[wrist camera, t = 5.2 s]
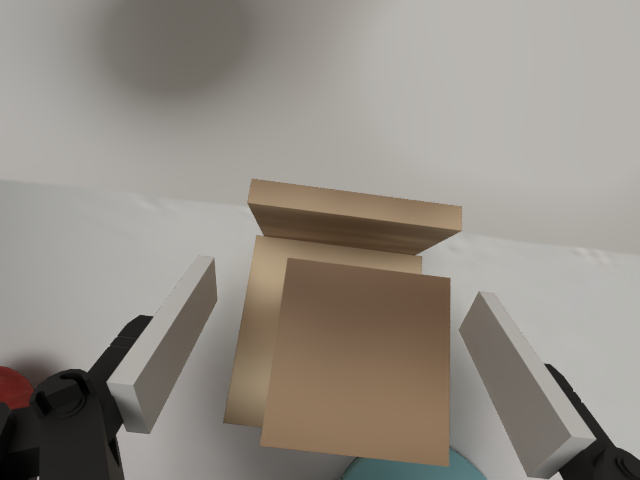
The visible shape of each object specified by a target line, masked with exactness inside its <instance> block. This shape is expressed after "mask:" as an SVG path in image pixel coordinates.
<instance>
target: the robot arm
mask: <svg viewBox="0 0 640 480" xmlns="http://www.w3.org/2000/svg"><path fill="white" fill-rule="evenodd" d="M216 302H217V289H216V275H215V262H214V257H207V256H199V255H198V257H197V258H196V259H195V261H194V262H193V264H192V265H191V266H190V268H189V269H188V270H187V272H186V273H185V275H184V276H183V277H182V279H181V280H180V281H179V283H178V284H177V286H176V287H175V288H174V290H173V291H172V292H171V294H170V295H169V297H168V298H167V299H166V301H165V302H164V304H163V305H162V306H161V308H160V309H159V310H158V312H157V313H156V315H155V316H154V317H153V316H145V315H139V316H138V317H136V318H135V319H133V320H132V321H131V322H129V323H128V324H127V325H126V326H125V327H124V328H123V329H122V331H121V332H120V333H119V334H118V337H117V338H115V339H114V341H113V342H112V343H111V344H110V347H108V348H107V349H106V350H105V352H104V353H103V354H102V355H101V357H100V358H99V359H98V360H97V362H96V363H95V364H94V365H93V367H92V368H91V369H90V370H89V371H88V373H87V372H85V371H83V370H81V369H69V370H65V371H61V372H59V373H57V374H55V375H53V376H51V377H48V378H47V379H46V380H45V381H43V382H42V383H41V384H39V385H38V386H37V388H36V389H35V390H34V391H33V393H32V394H31V397H30V400H29V404H30V406H29V407H23V408H18V409H12V410H11V409H10V408H9V406H8V405H7V404H6V403H4V402H0V480H37V477H38V476H39V480H124V474H123V469H122V463H121V457H120V452H119V446H118V441H117V437H116V434H117V432H118V430H119V429H120V427H121V425H122V424H124V426H125V429H126V431H127V432H135V433H144V434H150V432H151V430H152V428H153V426H154V424H155V422H156V420H157V418H158V416H159V414H160V412H161V410H162V408H163V406H164V404H165V402H166V400H167V398H168V396H169V394H170V392H171V391H172V389H173V387H174V385H175V383H176V381H177V379H178V377H179V375H180V373H181V371H182V369H183V367H184V365H185V363H186V361H187V359H188V357H189V355H190V353H191V351H192V349H193V347H194V345H195V343H196V341H197V339H198V337H199V335H200V333H201V331H202V329H203V327H204V325H205V323H206V321H207V319H208V317H209V315H210V314H211V312H212V310H213V308H214V306H215V304H216ZM459 331H460V333H461V336H462V338H463V340H464V342H465V344H466V346H467V348H468V351H469V353H470V355H471V357H472V359H473V361H474V363H475V365H476V368H477V370H478V372H479V374H480V376H481V378H482V380H483V383H484V385H485V387H486V389H487V391H488V393H489V395H490V398H491V400H492V402H493V404H494V406H495V408H496V410H497V412H498V415H499V417H500V419H501V421H502V423H503V425H504V427H505V430H506V432H507V434H508V436H509V438H510V440H511V442H512V445H513V447H514V449H515V451H516V453H517V455H518V457H519V460H520V462H521V464H522V466H523V468H524V470H525V472H526V474H527V477H534V478H543V479H550V478H551V477H552V476H553V475H554V474H556V473H557V472H558V471H559V473H560V474H561V476H562V478H563V480H640V460H639V459H637V458H636V457H635V456H633V455H632V454H631V453H629V452H627V451H625V450H623V449H621V448H617V447H616V446H615V445H614V444H613V443H612V441H611V440H610V439H609V437H608V436H607V435H606V433H605V432H604V431H603V429H602V428H601V427H600V425H599V424H598V422H597V421H596V420H595V418H594V417H593V416H592V414H591V413H590V412H589V410H588V409H587V408H586V406H585V405H584V403H581V399H580V398H579V397H578V395H577V394H576V393H575V392H573V388H572V387H571V386H570V384H569V383H568V382H567V380H566V379H565V378H564V376H563V375H562V374H560V373H559V372H558V371H557V370H556V369H555V368H554V367H553V366H552V365H550V364H543V362H542V361H541V359H540V358H539V356H538V355H537V354H536V352H535V351H534V349H533V348H532V346H531V345H530V344H529V342H528V341H527V339H526V338H525V336H524V335H523V334H522V332H521V331H520V329H519V328H518V326H517V325H516V324H515V322H514V321H513V319H512V318H511V316H510V315H509V314H508V312H507V311H506V309H505V308H504V306H503V305H502V304H501V302H500V301H499V299H498V298H497V296H496V295H495V294H494V293H489V292H481V291H479V292H478V294H477V296H476V298H475V300H474V302H473V304H472V306H471V308H470V310H469V312H468V313H467V315H466V317H465V319H464V321H463V323H462V325H461V327H460V329H459Z"/></svg>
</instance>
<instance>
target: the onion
mask: <svg viewBox="0 0 640 480" xmlns="http://www.w3.org/2000/svg"><path fill="white" fill-rule="evenodd" d="M33 391H34V390H33V388H32V386H31V384H30V382H29V380H28V379H27V378H25V377H24V376H22V375H21V374H19V373H18V372H17V371H14V370H12V369H10V368H8V367H2V366H0V402H4V403H6V404H7V405H8V406H9V408H10V409H11V410H12V409H18V408H23V407H29V406H30V404H29V400H30V397H31V394H32V393H33Z"/></svg>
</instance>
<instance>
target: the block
mask: <svg viewBox="0 0 640 480" xmlns="http://www.w3.org/2000/svg"><path fill="white" fill-rule="evenodd" d="M449 401H450V278H445V277H437V276H429V275H421V274H414V273H406V272H398V271H390V270H382V269H374V268H366V267H358V266H350V265H342V264H334V263H327V262H319V261H311V260H303V259H295V258H288V259H287V266H286V272H285V279H284V286H283V293H282V299H281V306H280V313H279V320H278V326H277V333H276V340H275V347H274V354H273V360H272V367H271V374H270V381H269V387H268V394H267V401H266V408H265V414H264V421H263V428H262V435H261V441H260V446H265V447H274V448H283V449H292V450H301V451H310V452H319V453H328V454H337V455H346V456H355V457H364V458H374V459H383V460H392V461H401V462H410V463H419V464H428V465H437V466H446V467H449Z"/></svg>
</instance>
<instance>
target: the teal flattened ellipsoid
mask: <svg viewBox="0 0 640 480" xmlns="http://www.w3.org/2000/svg"><path fill="white" fill-rule="evenodd" d="M340 480H487V479H486V478H485V477H484V476H483V475H482V474H481V473H480V472H479V471H478V470H477V469H476V468H475V467H474V466H473V465H472V464H471V463H470V462H469V461H467V460H466V459H465V458H464V457H463V456H461V455H460V454H459V453H458V452H456V451H455V450H453V449H452V448H450V447H449V467H446V466H437V465H428V464H419V463H410V462H401V461H392V460H383V459H374V458H364V457H358V458H357V459H355V460H354V461H353V462H352V464H351V465H350V466H349V467H348V468H347V470H346V471H345V472H344V474H343V475H342V477H341V478H340Z"/></svg>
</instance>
